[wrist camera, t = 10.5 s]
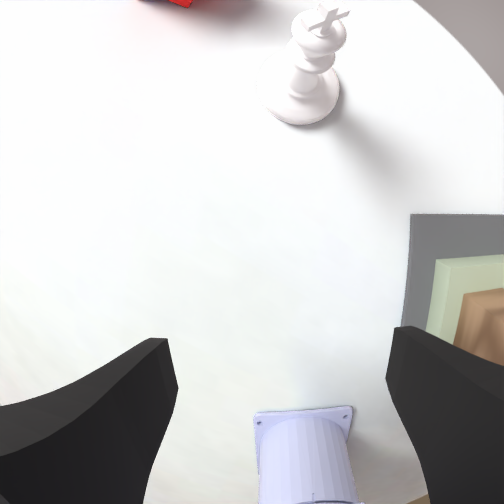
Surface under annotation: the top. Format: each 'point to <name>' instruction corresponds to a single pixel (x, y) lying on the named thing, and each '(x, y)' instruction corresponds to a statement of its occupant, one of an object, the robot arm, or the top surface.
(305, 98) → the chess piece
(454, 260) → the base block
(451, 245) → the build mat
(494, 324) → the walnut snap block
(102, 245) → the top surface
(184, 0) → the toy building block
